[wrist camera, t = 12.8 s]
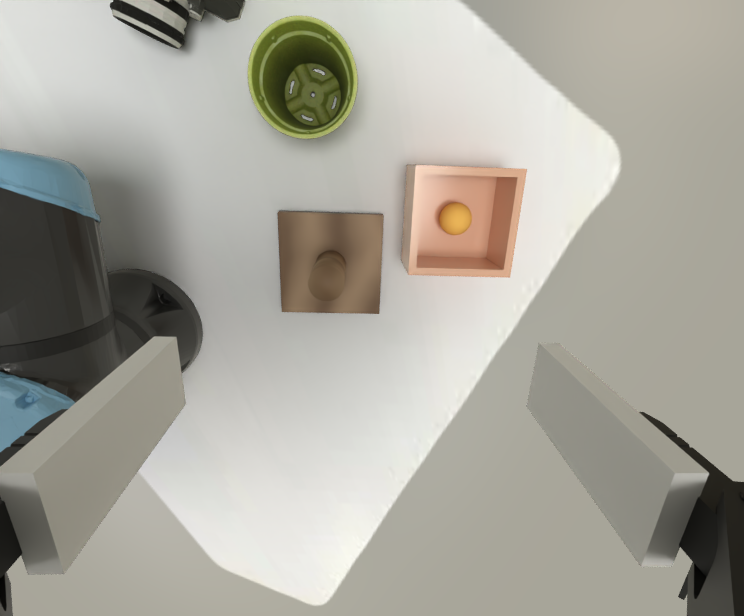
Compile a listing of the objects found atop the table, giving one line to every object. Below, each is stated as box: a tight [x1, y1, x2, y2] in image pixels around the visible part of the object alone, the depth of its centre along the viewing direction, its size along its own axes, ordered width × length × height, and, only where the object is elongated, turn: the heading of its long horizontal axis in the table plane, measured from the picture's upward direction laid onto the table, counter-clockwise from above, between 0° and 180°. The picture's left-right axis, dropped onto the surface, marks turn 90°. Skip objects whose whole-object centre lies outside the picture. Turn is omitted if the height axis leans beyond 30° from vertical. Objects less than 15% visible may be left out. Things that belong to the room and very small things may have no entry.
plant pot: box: [248, 16, 358, 139], centre depth 38 cm, size 9×9×9 cm
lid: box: [278, 211, 383, 314], centre depth 44 cm, size 12×12×9 cm
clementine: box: [439, 202, 472, 235], centre depth 44 cm, size 4×4×4 cm
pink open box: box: [401, 165, 527, 277], centre depth 44 cm, size 11×11×7 cm
